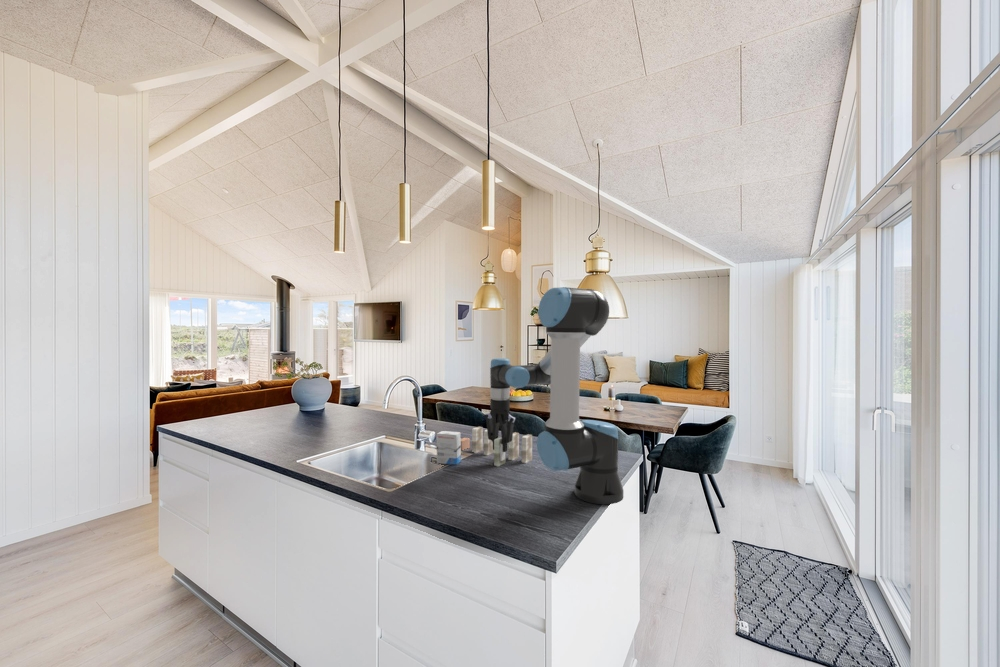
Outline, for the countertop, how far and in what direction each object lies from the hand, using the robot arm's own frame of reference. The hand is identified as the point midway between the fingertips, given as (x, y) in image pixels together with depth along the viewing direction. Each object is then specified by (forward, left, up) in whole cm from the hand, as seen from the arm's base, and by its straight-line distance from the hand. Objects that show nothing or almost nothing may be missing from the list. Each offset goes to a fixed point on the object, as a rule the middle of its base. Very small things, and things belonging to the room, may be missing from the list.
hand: (499, 459), depth 160 cm
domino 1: (+9, +17, -2) cm, 19 cm away
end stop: (+9, +25, -2) cm, 26 cm away
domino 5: (+9, -7, -2) cm, 12 cm away
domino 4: (+9, -1, -2) cm, 9 cm away
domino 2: (+9, +11, -2) cm, 14 cm away
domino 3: (0, 0, -2) cm, 2 cm away
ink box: (-9, +18, -2) cm, 20 cm away
